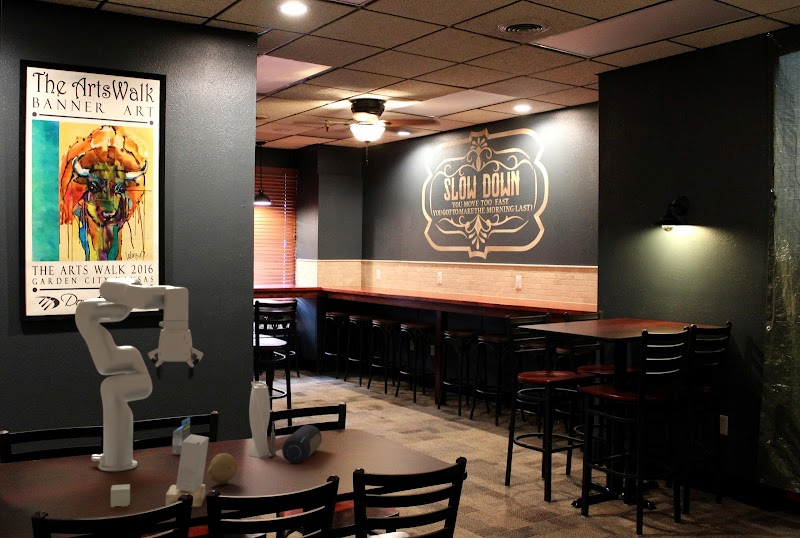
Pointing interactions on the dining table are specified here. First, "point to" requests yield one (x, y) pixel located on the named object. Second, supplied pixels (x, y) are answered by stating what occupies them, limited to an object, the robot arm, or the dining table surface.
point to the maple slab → (175, 494)
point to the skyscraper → (260, 421)
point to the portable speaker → (301, 444)
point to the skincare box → (192, 463)
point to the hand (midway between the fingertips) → (175, 378)
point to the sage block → (120, 495)
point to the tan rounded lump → (222, 468)
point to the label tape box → (180, 436)
